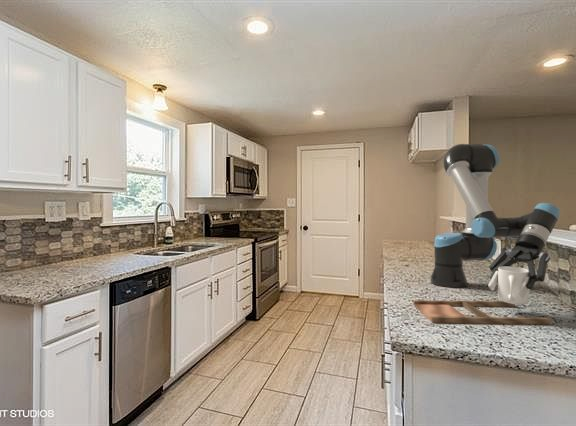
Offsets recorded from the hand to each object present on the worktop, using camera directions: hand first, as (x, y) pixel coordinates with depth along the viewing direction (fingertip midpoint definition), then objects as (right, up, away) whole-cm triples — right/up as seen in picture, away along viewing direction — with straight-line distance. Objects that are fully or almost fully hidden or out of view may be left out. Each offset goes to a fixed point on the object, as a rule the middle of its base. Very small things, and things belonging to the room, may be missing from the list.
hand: (505, 291), depth 103 cm
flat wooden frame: (-8, -8, +2) cm, 12 cm away
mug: (+3, -4, +1) cm, 5 cm away
